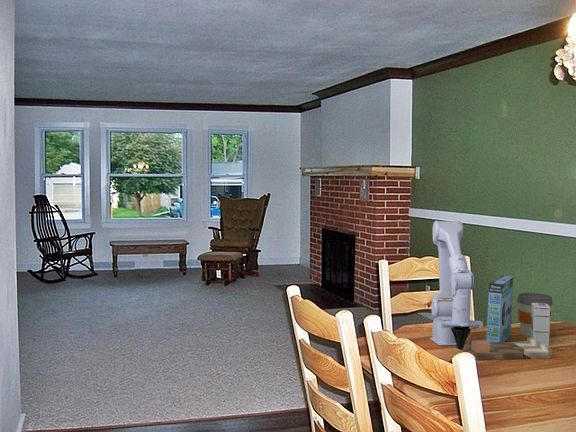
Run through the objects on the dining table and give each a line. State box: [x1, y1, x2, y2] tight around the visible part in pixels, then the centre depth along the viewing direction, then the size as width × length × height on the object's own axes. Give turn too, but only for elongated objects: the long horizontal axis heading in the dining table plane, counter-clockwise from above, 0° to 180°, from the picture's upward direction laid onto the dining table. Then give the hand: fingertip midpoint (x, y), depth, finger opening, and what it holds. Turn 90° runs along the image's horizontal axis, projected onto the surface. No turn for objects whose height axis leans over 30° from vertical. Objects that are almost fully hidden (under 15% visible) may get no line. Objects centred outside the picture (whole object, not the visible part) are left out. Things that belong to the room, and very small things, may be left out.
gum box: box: [485, 275, 514, 342], centre depth 232 cm, size 20×5×23 cm, turn 149°
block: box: [471, 339, 490, 353], centre depth 212 cm, size 4×4×3 cm
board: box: [461, 336, 552, 361], centre depth 216 cm, size 14×26×4 cm, turn 98°
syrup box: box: [530, 303, 551, 347], centre depth 230 cm, size 6×6×14 cm
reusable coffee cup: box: [517, 292, 553, 337], centre depth 243 cm, size 13×13×15 cm
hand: (459, 348), depth 211 cm, fingers closed
